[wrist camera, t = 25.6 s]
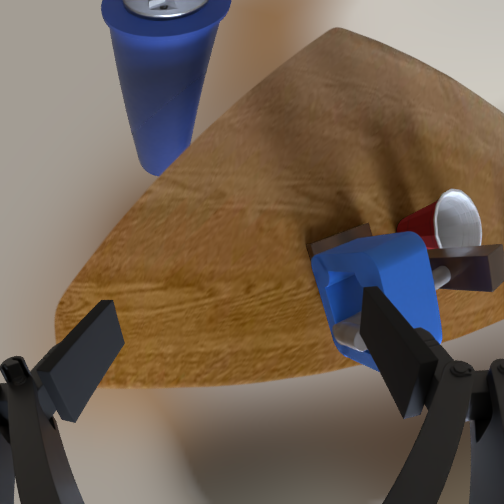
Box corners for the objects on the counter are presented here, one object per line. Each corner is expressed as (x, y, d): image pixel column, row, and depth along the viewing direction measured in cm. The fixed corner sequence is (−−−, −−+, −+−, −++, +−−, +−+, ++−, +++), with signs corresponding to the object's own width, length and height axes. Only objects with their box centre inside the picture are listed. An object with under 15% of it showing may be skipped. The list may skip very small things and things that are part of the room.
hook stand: (269, 339, 39) (392, 421, 15) (244, 267, 39) (359, 269, 15) (380, 287, 44) (524, 298, 20) (362, 224, 44) (508, 194, 20)
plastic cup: (385, 194, 45) (439, 177, 33) (429, 210, 48) (481, 200, 36) (379, 262, 44) (436, 261, 33) (425, 272, 47) (480, 272, 35)
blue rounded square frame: (336, 351, 29) (401, 382, 19) (307, 255, 28) (373, 251, 19) (374, 330, 30) (444, 349, 20) (350, 239, 30) (422, 229, 20)
